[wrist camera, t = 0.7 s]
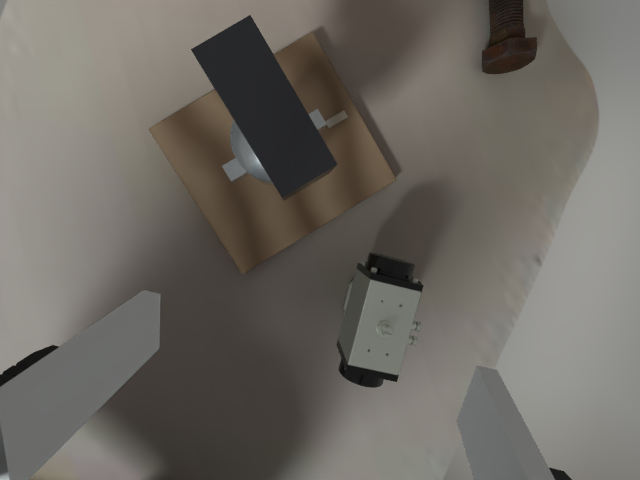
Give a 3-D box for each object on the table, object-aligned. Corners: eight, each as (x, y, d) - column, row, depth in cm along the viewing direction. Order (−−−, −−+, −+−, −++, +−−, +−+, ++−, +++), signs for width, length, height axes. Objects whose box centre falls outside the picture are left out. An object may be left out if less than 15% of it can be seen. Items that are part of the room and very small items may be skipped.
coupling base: (244, 272, 39) (237, 280, 34) (153, 132, 37) (132, 119, 32) (392, 181, 40) (407, 176, 35) (311, 39, 38) (315, 12, 33)
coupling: (257, 220, 34) (238, 224, 21) (201, 129, 32) (144, 76, 20) (346, 166, 34) (380, 138, 21) (293, 75, 33) (295, -12, 20)
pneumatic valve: (327, 340, 41) (343, 393, 29) (353, 244, 40) (380, 258, 28) (372, 350, 41) (406, 406, 29) (398, 256, 41) (443, 273, 29)
